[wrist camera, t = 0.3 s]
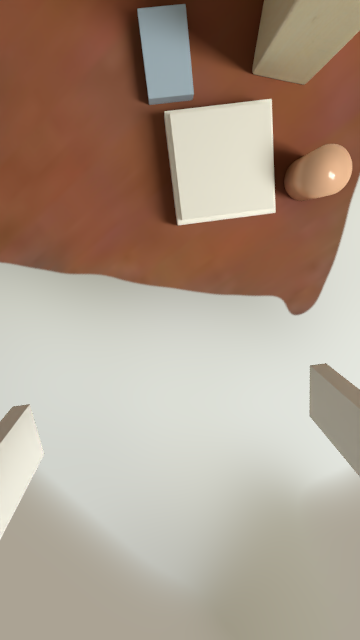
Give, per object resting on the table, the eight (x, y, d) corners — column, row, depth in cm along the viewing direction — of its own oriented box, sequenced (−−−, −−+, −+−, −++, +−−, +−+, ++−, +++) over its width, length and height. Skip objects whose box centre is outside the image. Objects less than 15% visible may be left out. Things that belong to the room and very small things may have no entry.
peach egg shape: (283, 160, 37) (306, 146, 31) (322, 155, 37) (352, 141, 32) (284, 203, 39) (306, 197, 33) (322, 198, 39) (351, 192, 33)
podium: (164, 118, 35) (164, 108, 32) (265, 106, 35) (274, 95, 33) (177, 225, 38) (178, 224, 36) (269, 213, 39) (277, 212, 36)
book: (138, 21, 33) (137, 8, 31) (184, 17, 33) (185, 3, 31) (149, 106, 35) (148, 98, 33) (191, 101, 35) (193, 94, 33)
